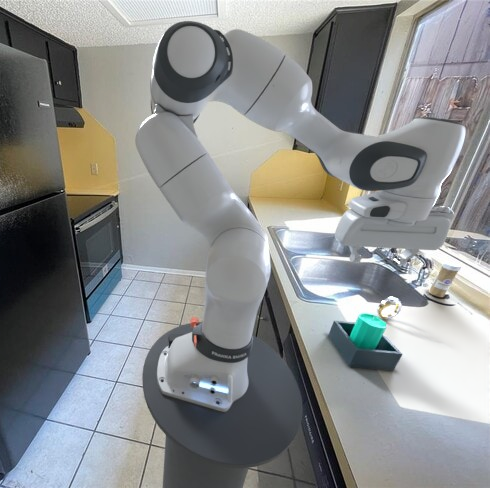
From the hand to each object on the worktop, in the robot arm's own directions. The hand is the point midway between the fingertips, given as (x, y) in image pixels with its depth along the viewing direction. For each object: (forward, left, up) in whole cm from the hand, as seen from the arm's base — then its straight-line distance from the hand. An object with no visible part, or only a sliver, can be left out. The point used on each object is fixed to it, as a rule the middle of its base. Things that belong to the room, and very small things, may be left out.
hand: (375, 262), depth 59 cm
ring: (+24, +18, -29) cm, 42 cm away
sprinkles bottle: (+55, +36, -29) cm, 72 cm away
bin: (+6, +2, -29) cm, 29 cm away
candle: (+6, +2, -28) cm, 29 cm away
